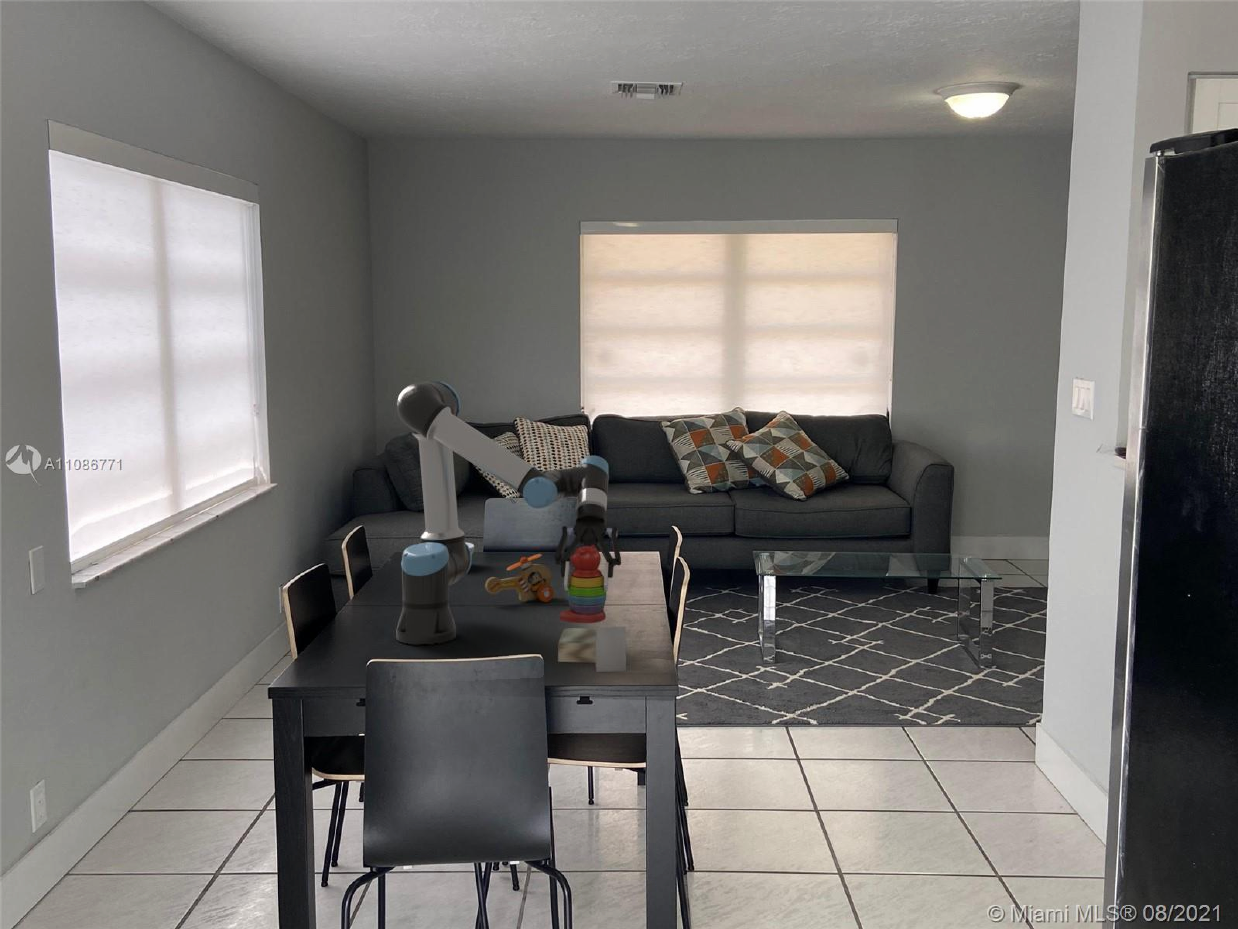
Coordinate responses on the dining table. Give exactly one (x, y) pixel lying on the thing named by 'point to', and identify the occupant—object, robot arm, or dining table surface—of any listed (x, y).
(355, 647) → the dining table surface
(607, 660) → the white printed cardboard box
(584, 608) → the stacking bear
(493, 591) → the toy helicopter
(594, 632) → the base block
